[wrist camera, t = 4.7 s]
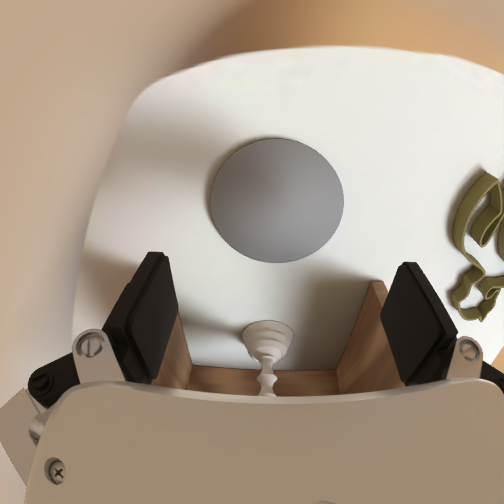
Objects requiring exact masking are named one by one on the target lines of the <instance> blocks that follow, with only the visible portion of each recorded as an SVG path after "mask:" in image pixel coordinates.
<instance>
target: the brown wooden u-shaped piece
mask: <svg viewBox="0 0 504 504" xmlns="http://www.w3.org/2000/svg"><path fill="white" fill-rule="evenodd" d="M387 295H388V291H387V288H386V286H385V284H384V282H383V281H371V282H370V285H369V288H368V291H367V294H366V297H365V299H364V302H363V305H362V308H361V310H360V313H359V316H358V318H357V321H356V323H355V326H354V328H353V331H352V333H351V336H350V338H349V341H348V343H347V345H346V348H345V350H344V352H343V355H342V357H341V359H340V361H339V364H338V366H337V368H336V370H312V371H273V373H274V375H275V376H276V377H277V380H276V381H275V382H274V383H273V387H272V389H273V392H274V394H275V395H276V397H304V396H329V395H344V394H356V393H366V392H375V391H382V390H390V389H396V388H403V387H405V385H404V382H402V381H401V380H400V377H399V373H398V370H397V367H396V364H395V360H394V357H393V354H392V351H391V348H390V345H389V342H388V339H387V337H386V334H385V331H384V328H383V325H382V323H381V320H380V312H381V310H382V307H383V305H384V303H385V300H386V298H387ZM261 371H262V370H246V369H230V368H217V367H206V366H197V365H193V364H192V361H191V357H190V354H189V350H188V347H187V343H186V339H185V335H184V331H183V328H182V324H181V319H180V315H179V311H178V314H177V317H176V320H175V323H174V326H173V329H172V332H171V335H170V338H169V341H168V344H167V348H166V351H165V354H164V357H163V360H162V363H161V367H160V370H159V373H158V376H157V378H156V379H153V380H152V383H151V385H154V386H160V387H167V388H174V389H182V390H190V391H198V392H207V393H217V394H229V395H244V396H257V395H258V394H259V393H260V390H261V385H260V382H258V381H257V377H258V376H259V375H260V374H261Z"/></svg>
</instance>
